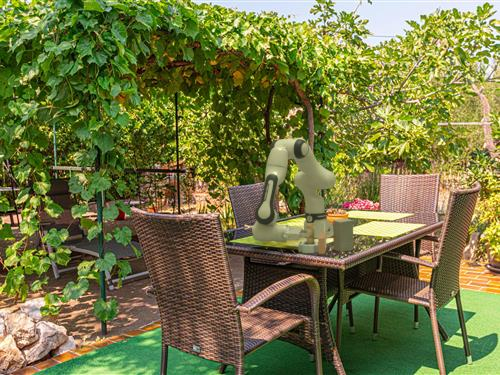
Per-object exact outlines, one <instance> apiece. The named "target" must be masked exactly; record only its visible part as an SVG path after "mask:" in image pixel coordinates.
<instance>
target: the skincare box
mask: <svg viewBox="0 0 500 375" xmlns="http://www.w3.org/2000/svg"><path fill="white" fill-rule="evenodd" d="M332 225H333V236H332V237H333V238H332V239H333V251H337V252H339V253H345V252H350V251H351V252H352V251H354V220H353V219H350V218H341V219H334V220H332Z"/></svg>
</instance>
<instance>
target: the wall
mask: <svg viewBox="0 0 500 375" xmlns="http://www.w3.org/2000/svg"><path fill="white" fill-rule="evenodd" d="M317 242H318V252H317V253H318V255H326V250H327V238H326V232H320V235H319V238H317Z"/></svg>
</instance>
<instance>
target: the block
mask: <svg viewBox="0 0 500 375" xmlns="http://www.w3.org/2000/svg"><path fill="white" fill-rule="evenodd" d="M299 241H300V240H299ZM298 253H303V254H315V253H318V241H316V240H315V244H307V240H305V241H300V242H299V243H298Z"/></svg>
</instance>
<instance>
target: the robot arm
mask: <svg viewBox="0 0 500 375" xmlns="http://www.w3.org/2000/svg"><path fill="white" fill-rule="evenodd" d="M269 152H270V153H269V155H268V157H267V162H266V165H265V166H266V167H265V176H264V186H263V190H262V195H261V199H260V202H259V204H258V205H257V207H256V208H255V211H254V218H255V223H254V224H253V225H252V227H251V234H252V237H253V239H254V240H255V241H257V242H264V243H266V242H269V243H270V242H275V243H287V242H288V241H300V239H302V238H303V239H304V238H307V237H310V233H306V223H314V239H318V238H319V235H320V232H326V239H327V238H328V239H329V238H332V237H333V223H332V222H330V221H329V219H327V217H328V216H329V214H330V213H329V212H327V211H326V212H325V208H326V207H325V199H324V197H323V196H321V195H320V194H319V193H318V191H317V190H327V189H332V188H334V186H335V185H336V181H337V178H336V174H335V173H334V172H333V171H331V170H329V169H327V168H326V167H324V166H323V165H321V164H320V162H318V160H317V159H316V156H315V155H314V152H313V150H312V148H311V147H310V145H309V143H308V142H307V141H306V139H305V138H303V137H296V138H283V139H275V140H273V141H272V142H271V144H270V146H269ZM289 160H294V162H295V164H296V166H297V168H298V170H299V171H297V172H296V173H295V175H294V178H293V180H294V181H293V182H294V184H295V186H296V187H297V188H298V189H299V190H300V191H301V193H302V195H303V198H304V202H305V203H304V204H305V212H304V218H305V220H304V221H303V227H302V226H297V225H296V226H294V225H289V224H277V223H278V222H277V221H278V216H279V215H278V212H277V211H276V209H274V201H275V196H276V191H277V189H278V187H279V186H280V185H281V184H282V183H284V181H285V178H286V176H287V170H288V165H289V164H288V163H289Z"/></svg>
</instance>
